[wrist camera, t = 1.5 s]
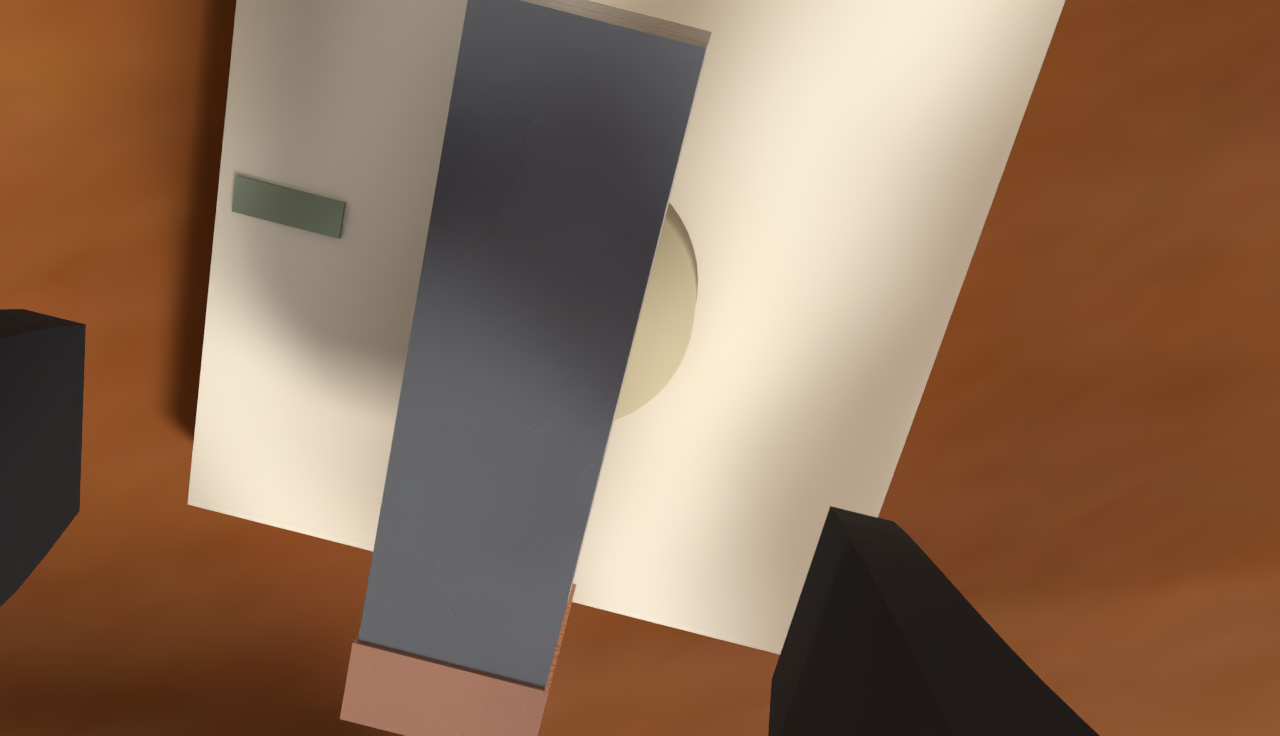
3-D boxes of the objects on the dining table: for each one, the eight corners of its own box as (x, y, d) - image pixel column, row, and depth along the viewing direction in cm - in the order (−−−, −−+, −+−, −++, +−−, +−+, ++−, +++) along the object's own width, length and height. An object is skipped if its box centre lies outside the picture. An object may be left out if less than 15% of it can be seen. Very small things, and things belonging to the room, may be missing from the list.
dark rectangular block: (718, 24, 15) (711, 49, 11) (574, 591, 18) (529, 766, 14) (537, -23, 15) (464, -14, 11) (425, 553, 18) (339, 718, 14)
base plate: (1041, -11, 17) (1099, -3, 14) (818, 619, 22) (830, 718, 19) (296, -202, 17) (209, -233, 14) (223, 468, 21) (146, 545, 19)
